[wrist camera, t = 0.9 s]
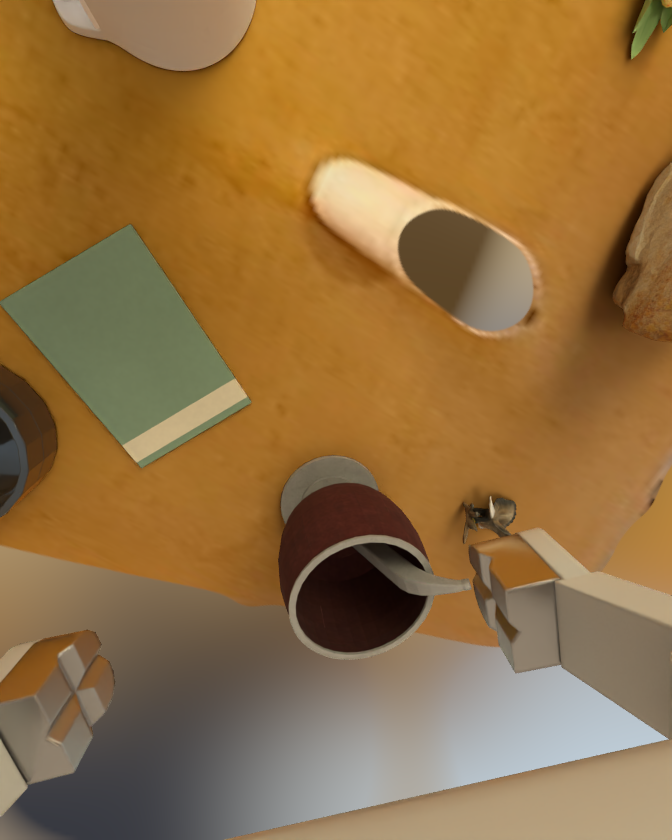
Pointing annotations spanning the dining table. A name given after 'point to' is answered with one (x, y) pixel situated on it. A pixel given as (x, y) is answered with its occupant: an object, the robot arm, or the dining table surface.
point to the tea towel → (128, 346)
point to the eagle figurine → (490, 517)
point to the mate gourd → (352, 562)
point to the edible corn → (651, 22)
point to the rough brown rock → (650, 266)
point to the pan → (22, 440)
